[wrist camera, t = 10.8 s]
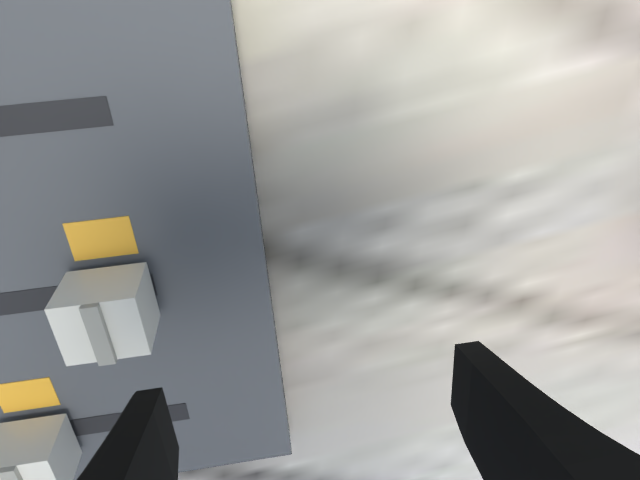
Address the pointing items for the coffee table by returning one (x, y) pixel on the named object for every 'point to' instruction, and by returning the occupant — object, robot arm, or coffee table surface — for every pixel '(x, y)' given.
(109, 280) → the switch
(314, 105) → the coffee table surface
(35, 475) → the switch
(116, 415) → the switch panel
